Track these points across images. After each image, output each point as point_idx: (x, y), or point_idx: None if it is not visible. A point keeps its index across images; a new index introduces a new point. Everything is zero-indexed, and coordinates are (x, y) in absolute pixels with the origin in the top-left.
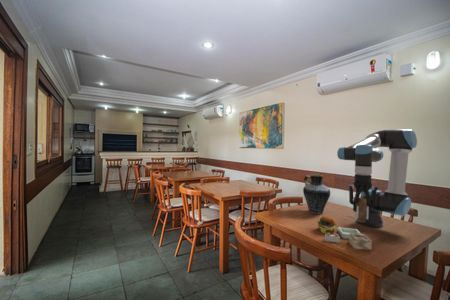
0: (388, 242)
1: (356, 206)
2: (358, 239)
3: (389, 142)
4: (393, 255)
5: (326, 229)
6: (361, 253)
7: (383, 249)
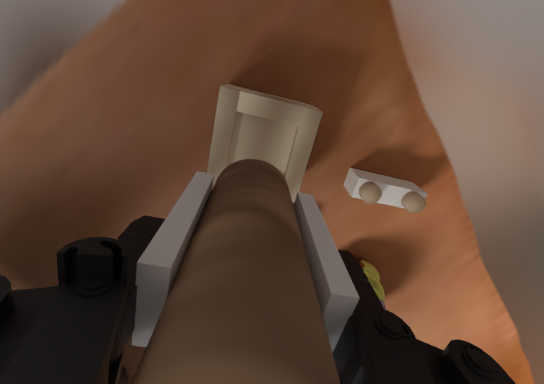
0: (78, 187)
1: (349, 305)
2: (298, 106)
3: None
4: (131, 24)
5: (364, 271)
6: (309, 40)
7: (150, 100)
